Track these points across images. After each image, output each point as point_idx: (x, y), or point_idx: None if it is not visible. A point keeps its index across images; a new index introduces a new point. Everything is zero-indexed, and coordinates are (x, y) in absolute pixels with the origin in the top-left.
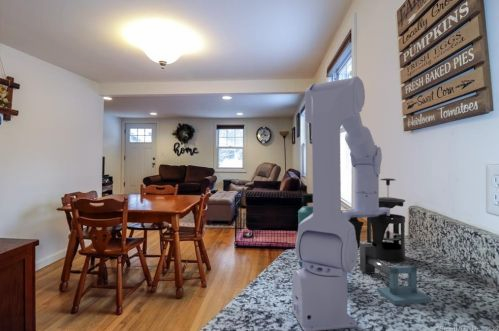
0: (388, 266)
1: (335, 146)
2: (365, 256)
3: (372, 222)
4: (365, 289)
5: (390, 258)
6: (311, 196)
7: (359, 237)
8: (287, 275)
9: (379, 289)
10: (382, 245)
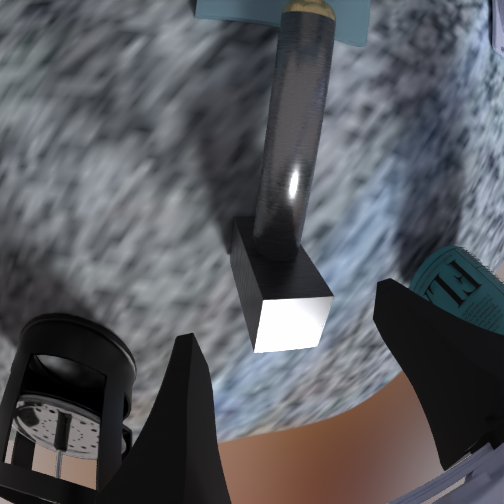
0: (305, 70)
1: None
2: (309, 260)
3: (225, 496)
4: (382, 82)
5: (84, 331)
6: None
7: (430, 317)
8: (477, 253)
9: (366, 32)
10: (104, 389)
